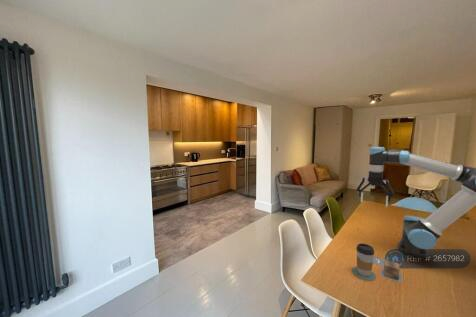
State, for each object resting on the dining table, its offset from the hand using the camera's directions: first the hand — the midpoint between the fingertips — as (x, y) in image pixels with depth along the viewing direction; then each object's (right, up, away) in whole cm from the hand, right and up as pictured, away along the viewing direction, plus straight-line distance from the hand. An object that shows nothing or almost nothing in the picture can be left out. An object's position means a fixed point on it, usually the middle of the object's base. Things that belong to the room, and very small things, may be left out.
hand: (373, 203), depth 130 cm
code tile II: (-5, -34, -21) cm, 40 cm away
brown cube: (-5, -34, -21) cm, 40 cm away
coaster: (-19, -34, -20) cm, 44 cm away
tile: (-5, -33, -8) cm, 34 cm away
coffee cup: (-19, -34, -20) cm, 43 cm away
